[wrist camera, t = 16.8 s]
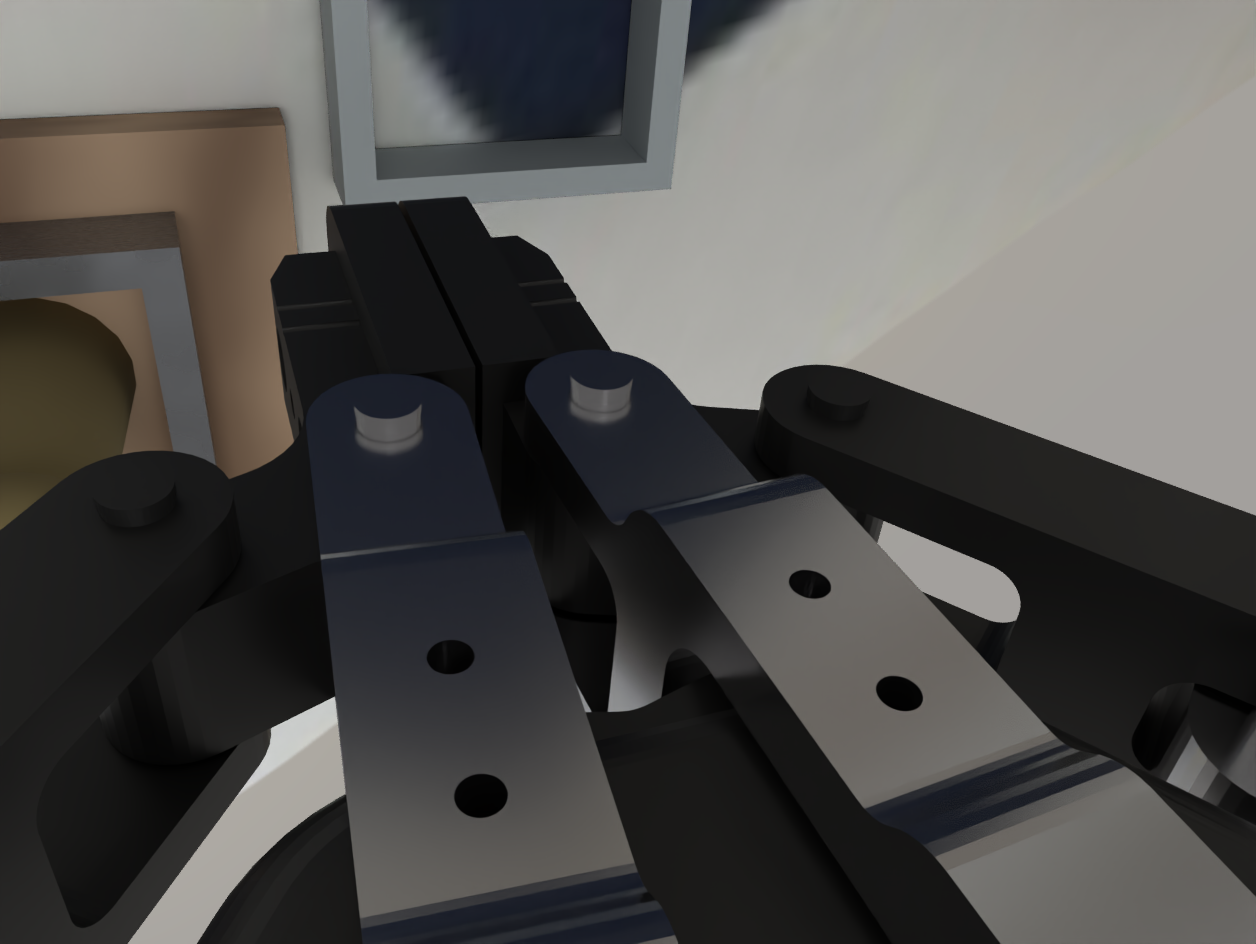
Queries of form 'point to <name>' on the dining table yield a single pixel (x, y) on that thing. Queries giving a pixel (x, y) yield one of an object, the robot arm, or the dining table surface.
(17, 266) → the socket collar
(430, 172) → the shaker holder
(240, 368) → the hub plate
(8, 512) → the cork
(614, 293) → the dining table surface
